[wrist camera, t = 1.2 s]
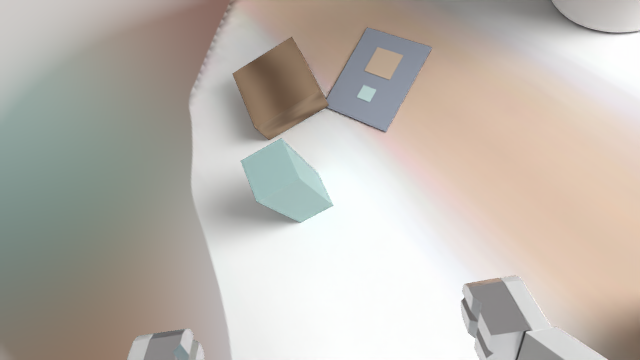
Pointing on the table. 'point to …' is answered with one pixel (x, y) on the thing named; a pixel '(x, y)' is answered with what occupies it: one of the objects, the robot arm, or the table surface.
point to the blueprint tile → (377, 78)
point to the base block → (279, 89)
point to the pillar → (286, 182)
